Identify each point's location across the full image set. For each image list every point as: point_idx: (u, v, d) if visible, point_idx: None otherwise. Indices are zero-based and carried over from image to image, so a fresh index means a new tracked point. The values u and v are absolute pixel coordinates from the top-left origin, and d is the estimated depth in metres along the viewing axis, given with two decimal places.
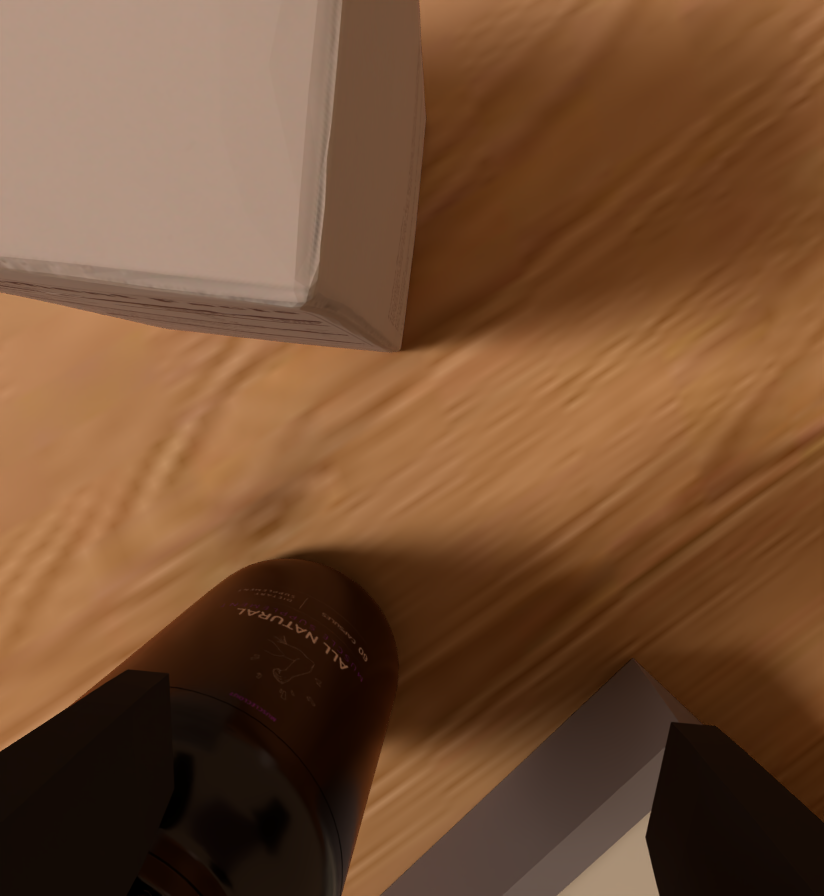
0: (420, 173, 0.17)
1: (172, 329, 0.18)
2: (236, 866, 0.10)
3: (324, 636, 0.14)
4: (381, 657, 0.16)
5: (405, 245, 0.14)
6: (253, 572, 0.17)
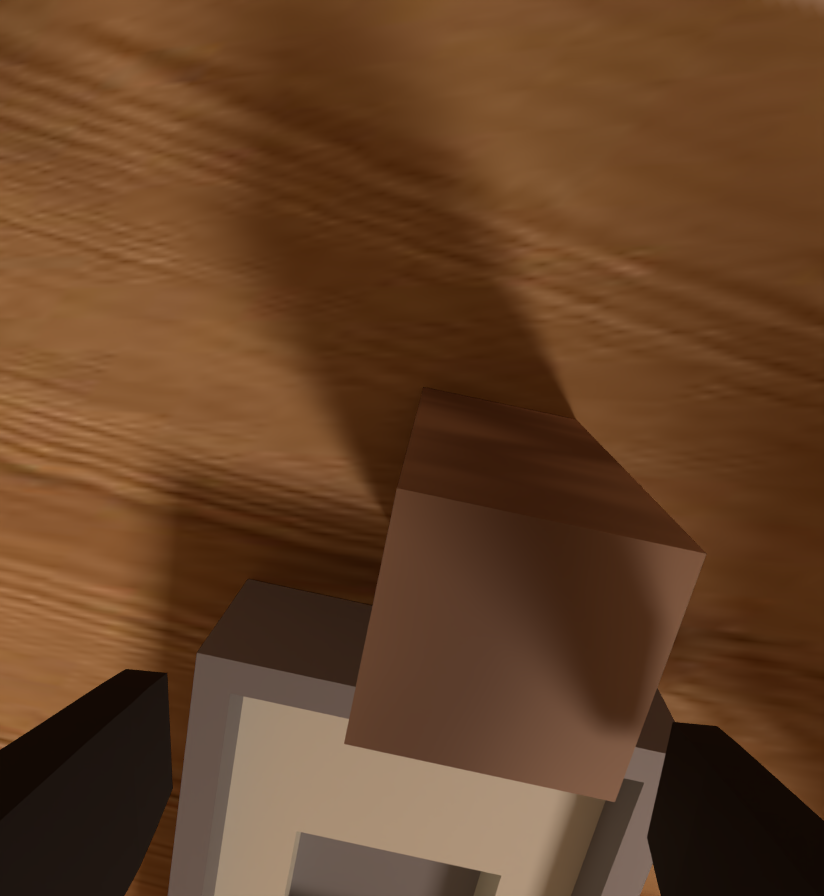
0: None
1: None
2: None
3: None
4: None
5: None
6: None
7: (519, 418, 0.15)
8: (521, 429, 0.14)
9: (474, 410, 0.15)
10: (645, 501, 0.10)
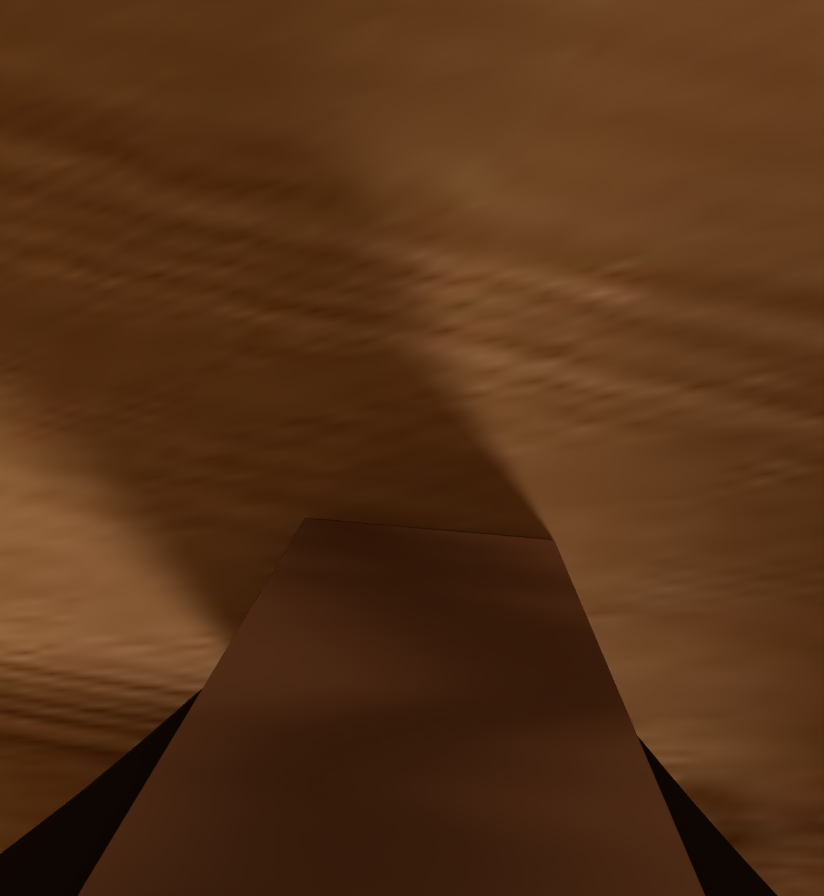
0: None
1: None
2: None
3: None
4: None
5: None
6: None
7: (451, 575, 0.09)
8: (443, 622, 0.08)
9: (370, 574, 0.09)
10: None
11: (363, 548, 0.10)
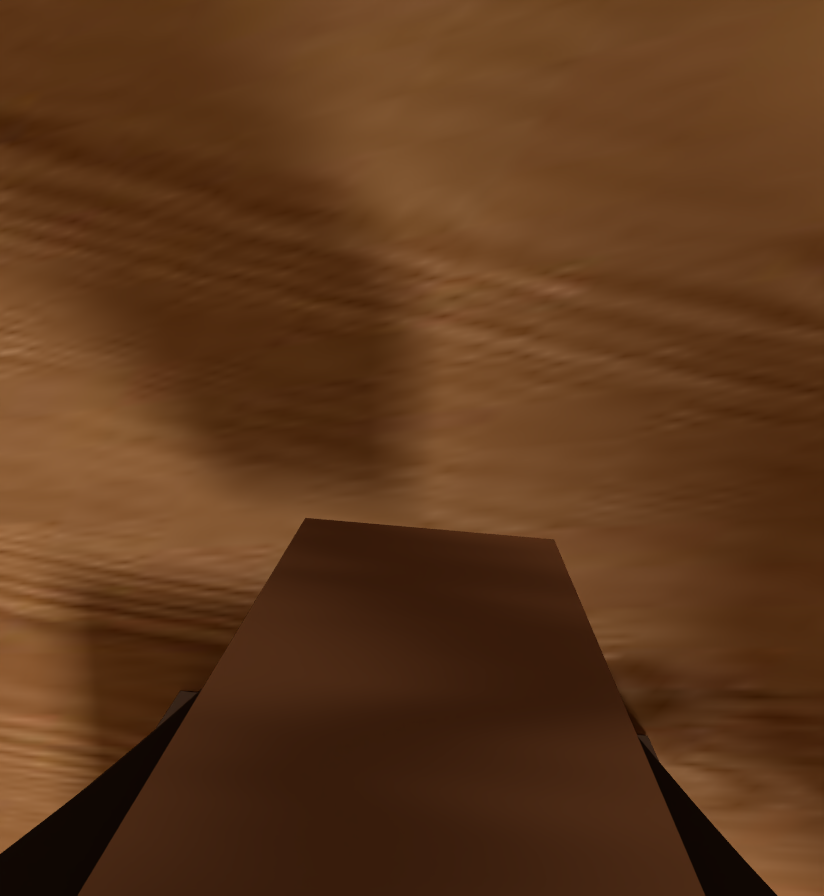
0: None
1: None
2: None
3: None
4: None
5: None
6: None
7: (451, 574, 0.09)
8: (443, 622, 0.08)
9: (370, 573, 0.09)
10: None
11: (363, 547, 0.10)
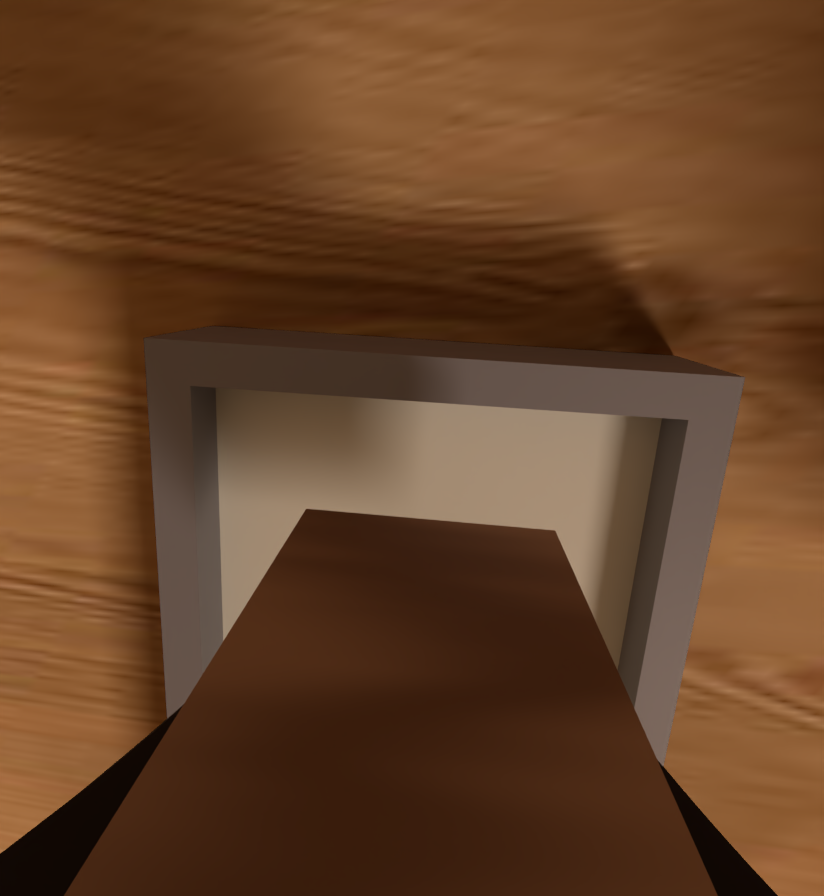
0: None
1: None
2: None
3: None
4: None
5: None
6: None
7: (452, 563, 0.09)
8: (445, 609, 0.08)
9: (371, 562, 0.09)
10: None
11: (364, 537, 0.10)
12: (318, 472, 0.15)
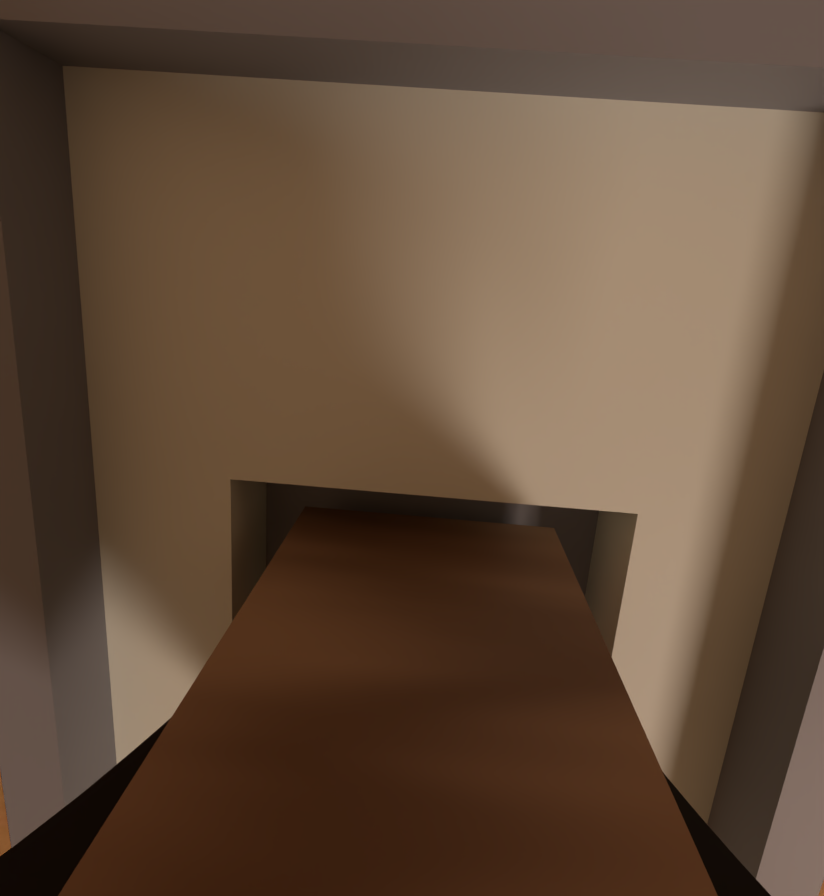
0: None
1: None
2: None
3: None
4: None
5: None
6: None
7: (451, 560, 0.09)
8: (443, 606, 0.08)
9: (370, 560, 0.09)
10: None
11: (363, 535, 0.10)
12: (252, 257, 0.09)
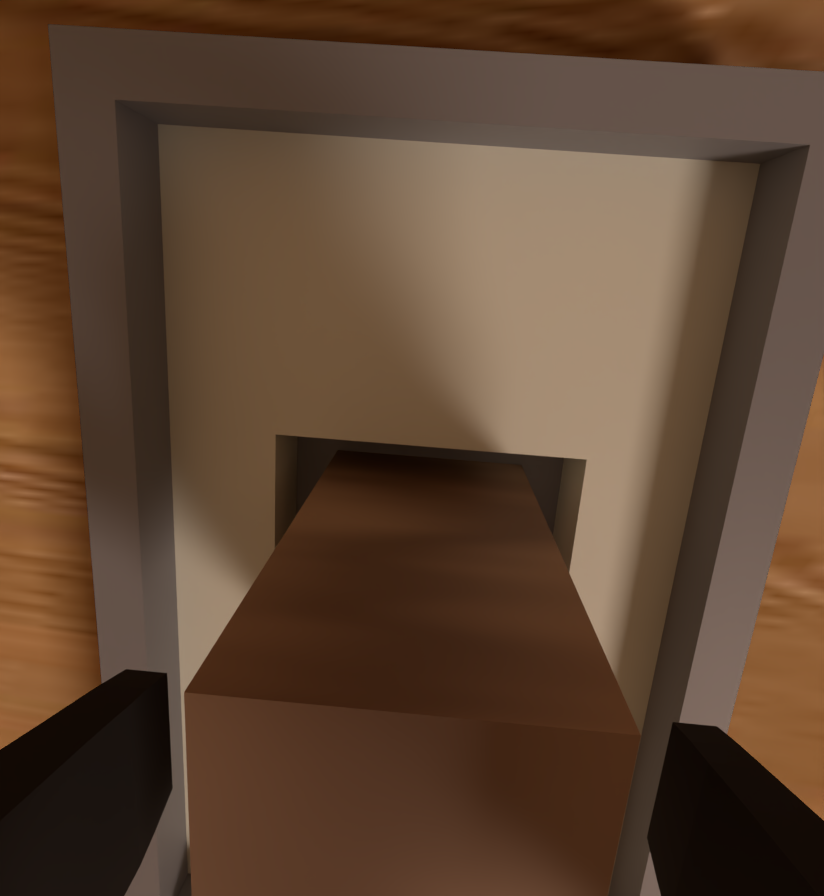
0: None
1: None
2: None
3: None
4: None
5: None
6: None
7: (445, 480, 0.13)
8: (440, 502, 0.12)
9: (389, 479, 0.13)
10: (573, 620, 0.08)
11: (382, 466, 0.14)
12: (296, 264, 0.12)
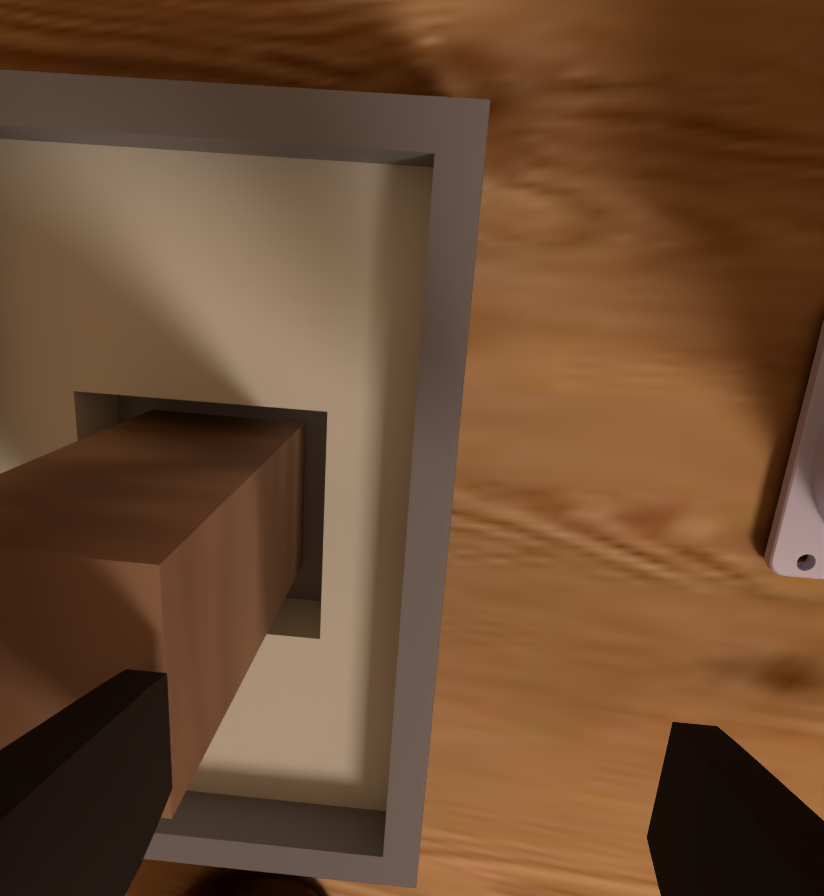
0: None
1: None
2: None
3: None
4: None
5: None
6: None
7: (220, 431, 0.15)
8: (195, 444, 0.14)
9: (170, 429, 0.15)
10: (200, 510, 0.10)
11: (176, 420, 0.16)
12: (76, 250, 0.14)
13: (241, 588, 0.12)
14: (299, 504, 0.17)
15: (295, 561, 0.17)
